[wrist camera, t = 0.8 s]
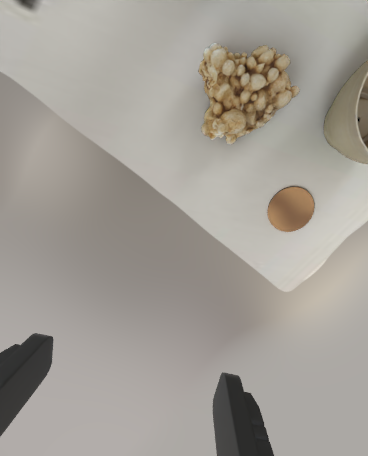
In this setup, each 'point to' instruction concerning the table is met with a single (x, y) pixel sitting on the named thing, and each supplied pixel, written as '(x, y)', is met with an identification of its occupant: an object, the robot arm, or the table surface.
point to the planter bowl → (350, 118)
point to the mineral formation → (243, 90)
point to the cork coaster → (290, 209)
